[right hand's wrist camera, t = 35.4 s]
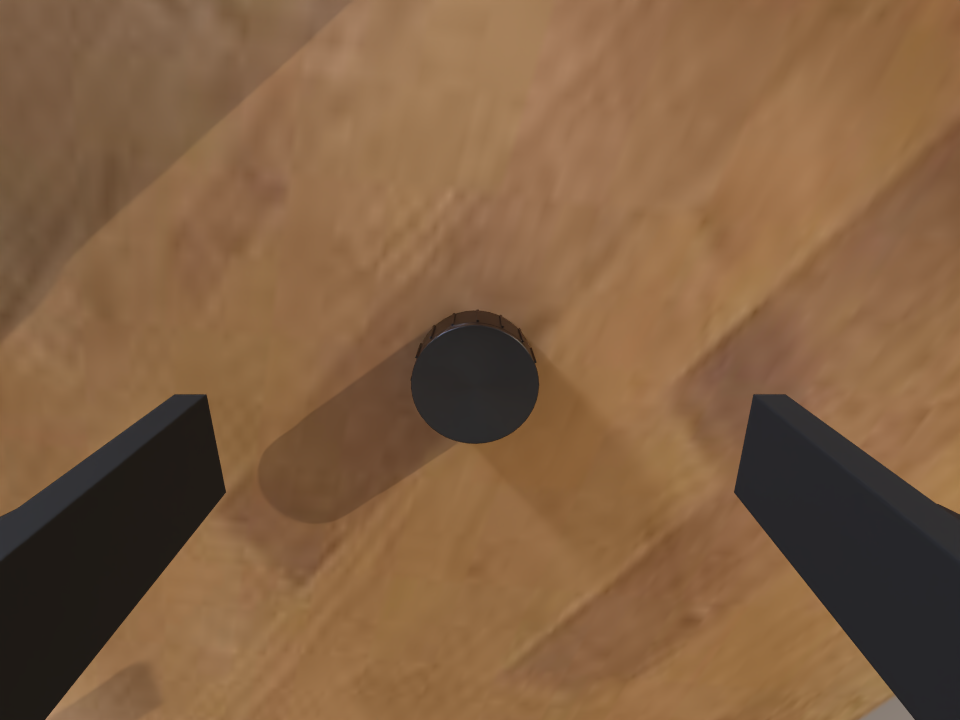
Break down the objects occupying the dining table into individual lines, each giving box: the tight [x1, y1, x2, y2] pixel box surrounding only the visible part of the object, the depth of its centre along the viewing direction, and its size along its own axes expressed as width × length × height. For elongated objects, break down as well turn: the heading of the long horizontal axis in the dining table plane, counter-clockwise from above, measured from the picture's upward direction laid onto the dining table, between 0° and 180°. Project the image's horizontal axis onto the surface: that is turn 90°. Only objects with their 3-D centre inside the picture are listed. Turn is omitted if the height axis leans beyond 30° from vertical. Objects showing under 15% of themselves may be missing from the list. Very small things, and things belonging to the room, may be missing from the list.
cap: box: [411, 310, 539, 444], centre depth 18 cm, size 4×4×2 cm
